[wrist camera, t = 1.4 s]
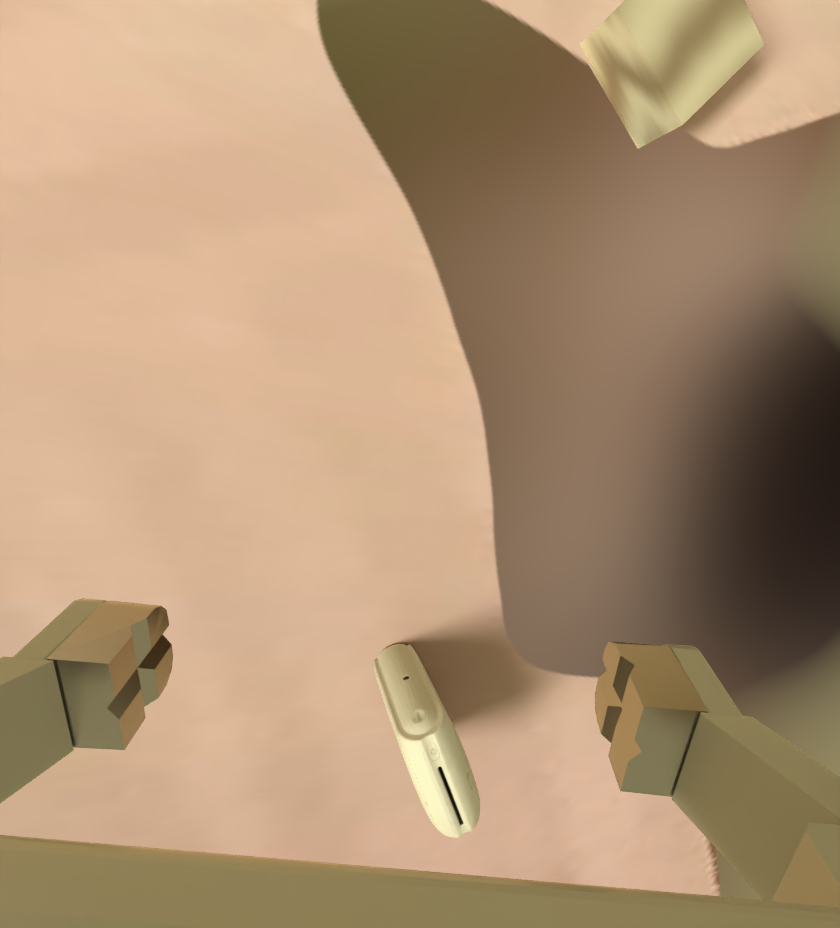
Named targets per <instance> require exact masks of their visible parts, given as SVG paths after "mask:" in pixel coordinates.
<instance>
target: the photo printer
mask: <svg viewBox="0 0 840 928" xmlns="http://www.w3.org/2000/svg"><path fill="white" fill-rule="evenodd" d="M374 669H375V674H376V678H377V682H378V685H379V688H380V691H381V694H382V697H383V700H384V703H385V706H386V709H387V712H388V715H389V718H390V721H391V724H392V726H393V729H394V732H395V735H396V738H397V741H398V743H399V746H400V749H401V752H402V755H403V758H404V760H405V763H406V766H407V768H408V771H409V774H410V776H411V779H412V781H413V784H414V786H415V788H416V791H417V793H418V795H419V798H420V800H421V802H422V804H423V806H424V808H425V811H426V813H427V815H428V817H429V818H430V820H431V822H432V823H433V824H434V826H435V827H436V828H437V829H438V830H439V831H440V832H441V833H443V834H444V835H446V836H449V837H453V838H457V837H460V836H461V835H462V834H463V833H465V832H467V831H472V830H473V829H474V828H475V826H476V824H477V822H478V819H479V814H480V798H479V793H478V789H477V786H476V782H475V779H474V776H473V773H472V770H471V767H470V764H469V761H468V759H467V756H466V754H465V751H464V749H463V746H462V744H461V741H460V739H459V736H458V734H457V732H456V730H455V728H454V724H453V723H452V722H451V720H450V718H449V716H448V714H447V712H446V710H445V708H444V706H443V704H442V702H441V700H440V698H439V696H438V694H437V692H436V690H435V688H434V686H433V684H432V682H431V680H430V678H429V676H428V674H427V672H426V670H425V668H424V666H423V664H422V662H421V660H420V658H419V657H418V655H417V653H416V652H415V650H414V649H413V647H412V646H411V645H410V644H409V645H404V644H395V645H391V646H389V647H387V648H385V649H384V650H383V651H382V652H381V653H380V654H379V655H378V657H377V659H376V660H374Z"/></svg>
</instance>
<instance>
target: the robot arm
mask: <svg viewBox="0 0 840 928" xmlns="http://www.w3.org/2000/svg"><path fill="white" fill-rule="evenodd" d="M168 626H169V621H168V615H167V610H166V609H165V608H163V607H162V606H157V605H147V604H137V603H128V602H118V601H105V600H94V599H80V600H76V601H74V602H73V603H72V604H70V605H69V606H68V607H67V608H66V609H65V610H64V611H63V612H62V613H61V614H60V615H58V616H57V617H56V618H55V619H54V620H53V621H52V622H51V623H50V624H49V625H48V626H46V627H45V628H44V629H43V630H42V631H41V632H40V633H39V634H38V635H37V636H36V637H35V638H33V639H32V640H31V641H30V642H29V643H28V644H27V645H26V646H25V647H24V648H23V649H21V650H20V651H19V652H18V653H17V654H16V655H15V656H14V657H2V658H0V803H1V802H3V801H4V800H5V799H7V798H8V797H9V796H11V795H12V794H14V793H15V792H16V791H18V790H19V789H21V788H22V787H23V786H25V785H26V784H27V783H29V782H30V781H32V780H33V779H34V778H36V777H37V776H39V775H40V774H41V773H43V772H44V771H45V770H47V769H48V768H50V767H51V766H52V765H54V764H55V763H57V762H58V761H59V760H61V759H62V758H63V757H65V756H66V755H68V754H69V753H70V752H72V751H73V750H74V749H73V747H77V748H96V749H116V750H125V748H126V747H127V745H128V744H129V742H130V741H131V739H132V738H133V736H134V735H135V733H136V732H137V730H138V729H139V727H140V726H141V724H142V723H143V721H144V719H145V711H144V706H146V705H148V704H149V703H151V702H153V701H154V700H156V699H157V698H159V696H160V695H161V693H162V691H163V690H164V688H165V687H166V685H167V682H168V679H169V676H170V673H171V670H172V661H173V652H172V645H171V643H170V642H169V641H168V640H167V639H166V638H165V637H164V636H163V633H164V631H165V630H166V629H167V627H168ZM603 662H604V664H605V667H606V669H607V672H605V673H604V674H603V675H602V676H601V677H599V678H598V681H597V686H596V691H595V711H596V717H597V722H598V725H599V729H600V732H601V734H602V735H603V736H604V737H605V738H606V739H607V740H608V741H609V742H611V747H610V751H609V759H610V762H611V765H612V768H613V771H614V774H615V777H616V780H617V782H618V785H619V788H620V791H625V792H634V793H643V794H652V795H661V796H670V797H672V800H673V801H674V802H675V803H676V804H677V806H678V807H679V808H680V809H681V810H682V811H683V812H684V813H685V814H686V815H687V816H688V818H689V819H690V820H691V821H692V822H693V823H694V824H695V825H696V826H697V827H698V829H699V830H700V831H701V832H702V833H703V834H704V835H705V836H706V837H707V838H708V839H709V841H710V842H711V843H712V844H713V845H714V846H715V847H716V848H717V849H718V850H719V851H720V853H721V854H722V855H723V856H724V857H725V858H726V859H727V860H728V861H729V862H730V864H731V865H732V866H733V867H734V868H735V869H736V870H737V871H738V872H739V873H740V874H741V875H742V877H743V878H744V879H745V880H746V881H747V882H748V883H749V884H750V885H751V887H752V888H753V889H754V890H755V891H756V892H757V893H758V894H759V895H760V896H761V897H762V899H763V900H755V899H743V898H732V897H720V896H708V895H697V894H685V893H674V892H662V891H650V890H639V889H627V888H616V887H604V886H592V885H580V884H569V883H557V882H545V881H534V880H522V879H510V878H499V877H487V876H475V875H464V874H452V873H440V872H428V871H417V870H405V869H393V868H382V867H370V866H358V865H347V864H335V863H323V862H311V861H300V860H288V859H276V858H265V857H253V856H241V855H230V854H218V853H206V852H195V851H183V850H171V849H159V848H148V847H136V846H124V845H112V844H101V843H89V842H77V841H66V840H54V839H42V838H30V837H19V836H7V835H0V928H840V777H839V776H838V775H836V774H835V773H833V772H832V771H831V770H829V769H827V768H826V767H825V766H823V765H822V764H820V763H819V762H817V761H816V760H814V759H813V758H812V757H810V756H809V755H807V754H806V753H804V752H803V751H801V750H800V749H798V748H797V747H795V746H794V745H792V744H791V743H790V742H788V741H787V740H785V739H784V738H782V737H781V736H779V735H778V734H776V733H775V732H773V731H772V730H771V729H769V728H768V727H766V726H764V725H763V724H762V723H760V722H758V721H757V720H756V719H754V718H753V717H750V716H742V714H741V713H740V711H739V710H738V708H737V707H736V705H735V704H734V702H733V701H732V699H731V698H730V696H729V695H728V693H727V692H726V690H725V689H724V687H723V686H722V684H721V683H720V681H719V679H718V678H717V676H716V675H715V674H714V672H713V670H712V669H711V668H710V666H709V664H708V663H707V662H706V660H705V658H704V657H703V655H702V654H701V652H700V651H699V650H698V649H697V648H695V647H694V646H683V645H652V644H638V643H624V642H609V643H608V644H607V646H606V648H605V651H604V655H603Z"/></svg>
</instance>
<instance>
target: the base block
mask: <svg viewBox="0 0 840 928" xmlns="http://www.w3.org/2000/svg"><path fill="white" fill-rule="evenodd" d="M764 45H765V44H764V42H763V40H762V38H761V36H760V34H759V31H758V29H757V27H756V25H755V23H754V20H753V18H752V16H751V14H750V12H749V10H748V7H747V5H746V3H745V1H744V0H625V1H624V2H623V3H622V4H621V5H620V6H619V7H618V8H617V9H616V10H615V11H614V12H613V13H612V14H611V15H610V16H609V17H608V18H607V19H605V20H604V21H603V22H602V23H601V24H600V25H599V26H598V27H597V28H596V29H595V30H594V31H593V32H592V33H591V34H590V35H589V36H588V37H587V38H586V39H585V40H584V41H583V42H582V43H581V44H580V46H581V47H582V49H583V51H584V53H585V54H586V56H587V58H588V60H589V61H590V63H591V65H592V66H593V67H591V66H590V65H589V66H590V68H591V69H592V71H593V73H594V75H595V76H596V78H597V80H598V82H599V83H600V85H601V87H602V88H603V90H604V92H605V93H606V95H607V97H608V99H609V100H610V102H611V104H612V105H613V107H614V109H615V111H616V112H617V114H618V115H619V117H620V119H621V121H622V123H623V124H624V126H625V127H626V129H627V131H628V133H629V135H630V136H631V138H632V140H633V141H634V143H635V145H636V146H637V148H638V149H639V148H640V147H642V146H644V145H646V144H648V143H650V142H652V141H654V140H656V139H658V138H659V137H661V136H663V135H665V134H667V133H669V132H671V131H673V130H675V129H676V128H678V127H680V126H682V125H683V124H684V123H685V122H686V121H687V120H688V119H689V118H690V117H691V116H692V115H693V114H694V113H695V112H696V111H697V110H698V109H700V108H701V107H702V106H703V105H704V104H705V103H706V102H707V101H708V100H709V99H710V98H711V97H712V96H713V95H714V94H715V93H716V92H717V91H718V90H719V89H720V88H721V87H722V86H723V85H724V84H725V83H726V82H727V81H728V80H729V79H730V78H731V77H732V76H733V75H734V74H735V73H736V72H737V71H738V70H739V69H740V68H741V67H742V66H743V65H744V64H745V63H746V62H747V61H748V60H749V59H750V58H751V57H752V56H753V55H754V54H755V53H757V52H758V51H759V50H760V49H761V48H762V47H763V46H764Z"/></svg>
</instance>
